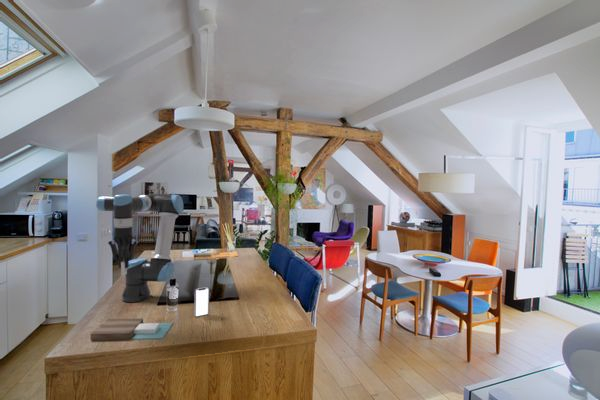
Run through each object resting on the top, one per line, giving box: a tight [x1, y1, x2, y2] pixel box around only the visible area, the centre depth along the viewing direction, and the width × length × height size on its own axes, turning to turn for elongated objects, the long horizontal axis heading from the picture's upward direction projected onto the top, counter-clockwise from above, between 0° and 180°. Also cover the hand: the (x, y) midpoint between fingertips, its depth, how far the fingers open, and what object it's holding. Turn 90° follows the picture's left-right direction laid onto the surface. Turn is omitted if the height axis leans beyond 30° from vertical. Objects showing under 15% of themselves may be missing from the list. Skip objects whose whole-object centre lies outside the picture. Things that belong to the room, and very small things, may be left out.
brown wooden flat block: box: [90, 317, 144, 342], centre depth 141 cm, size 15×16×3 cm
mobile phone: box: [194, 286, 210, 318], centre depth 161 cm, size 8×1×15 cm, turn 124°
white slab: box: [134, 322, 160, 335], centre depth 143 cm, size 6×9×2 cm, turn 96°
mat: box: [131, 322, 174, 341], centre depth 143 cm, size 15×13×1 cm
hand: (124, 274), depth 149 cm, fingers closed
